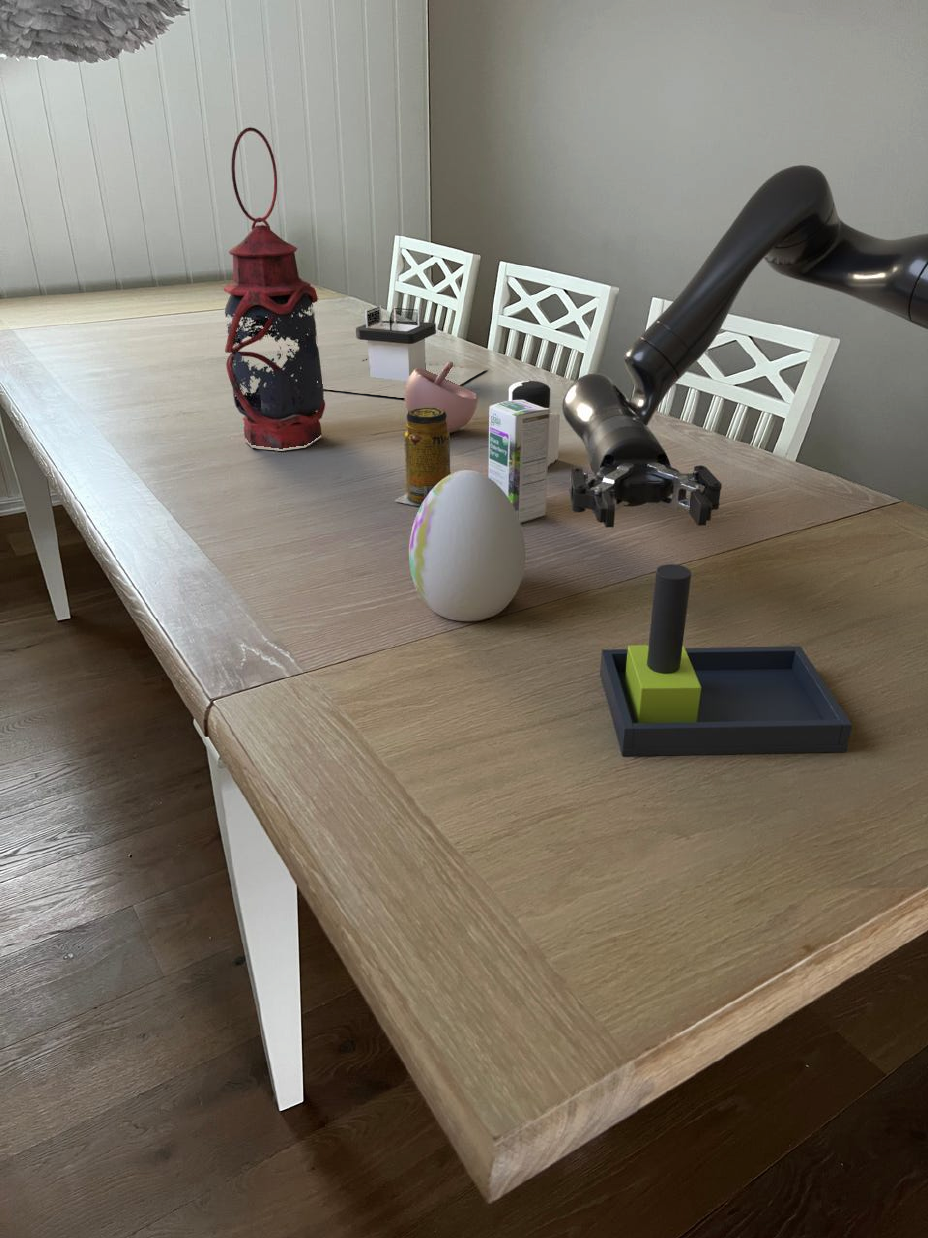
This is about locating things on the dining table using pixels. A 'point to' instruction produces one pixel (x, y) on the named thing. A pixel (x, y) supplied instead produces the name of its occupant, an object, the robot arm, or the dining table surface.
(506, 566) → the decorative egg
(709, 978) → the dining table surface
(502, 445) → the syrup box
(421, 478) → the condiment
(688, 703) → the sponge wand
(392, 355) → the black-topped pedestal
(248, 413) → the lantern
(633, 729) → the tray
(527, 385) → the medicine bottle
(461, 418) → the mortar and pestle
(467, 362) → the dining table surface
